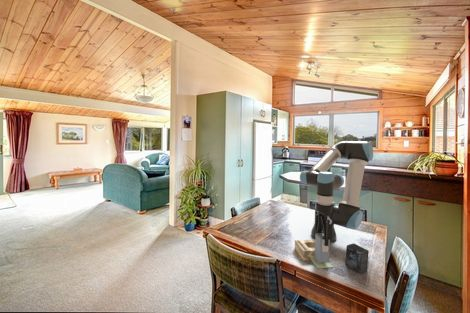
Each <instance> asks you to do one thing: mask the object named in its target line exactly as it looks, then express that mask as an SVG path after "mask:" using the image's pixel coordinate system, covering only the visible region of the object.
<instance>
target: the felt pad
mask: <svg viewBox="0 0 470 313" xmlns="http://www.w3.org/2000/svg"><path fill="white" fill-rule="evenodd" d="M310 261H311V262H312V263H313V264H314V267H316V268H317V269H330V268H332V269H333V268H334V266H333V265H332V264H331V262H330V261H329V262H320V263H319V262H318V261H317V260H316V259H311V260H310Z"/></svg>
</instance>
